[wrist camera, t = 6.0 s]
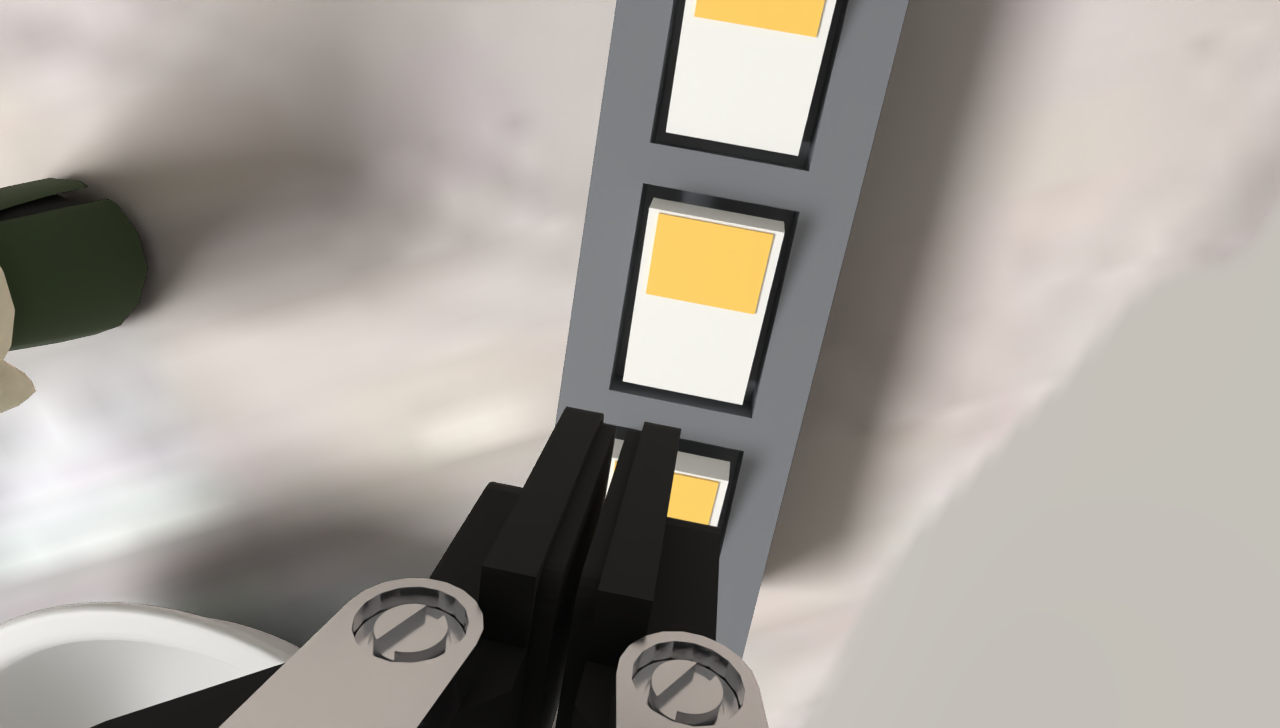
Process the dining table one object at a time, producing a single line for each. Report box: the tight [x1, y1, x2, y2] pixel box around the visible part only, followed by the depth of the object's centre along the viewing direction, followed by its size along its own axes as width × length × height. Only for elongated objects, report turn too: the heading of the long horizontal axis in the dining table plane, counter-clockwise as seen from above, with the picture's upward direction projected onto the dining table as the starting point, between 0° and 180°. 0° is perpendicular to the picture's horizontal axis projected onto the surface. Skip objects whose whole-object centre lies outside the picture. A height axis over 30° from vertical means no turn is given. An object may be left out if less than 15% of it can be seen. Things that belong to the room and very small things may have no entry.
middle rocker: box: [623, 198, 785, 405], centre depth 25 cm, size 6×4×1 cm, turn 171°
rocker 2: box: [666, 0, 836, 156], centre depth 22 cm, size 6×4×1 cm, turn 171°
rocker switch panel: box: [555, 0, 909, 659], centre depth 26 cm, size 32×8×5 cm, turn 171°
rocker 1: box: [606, 439, 730, 527], centre depth 27 cm, size 6×4×1 cm, turn 171°
